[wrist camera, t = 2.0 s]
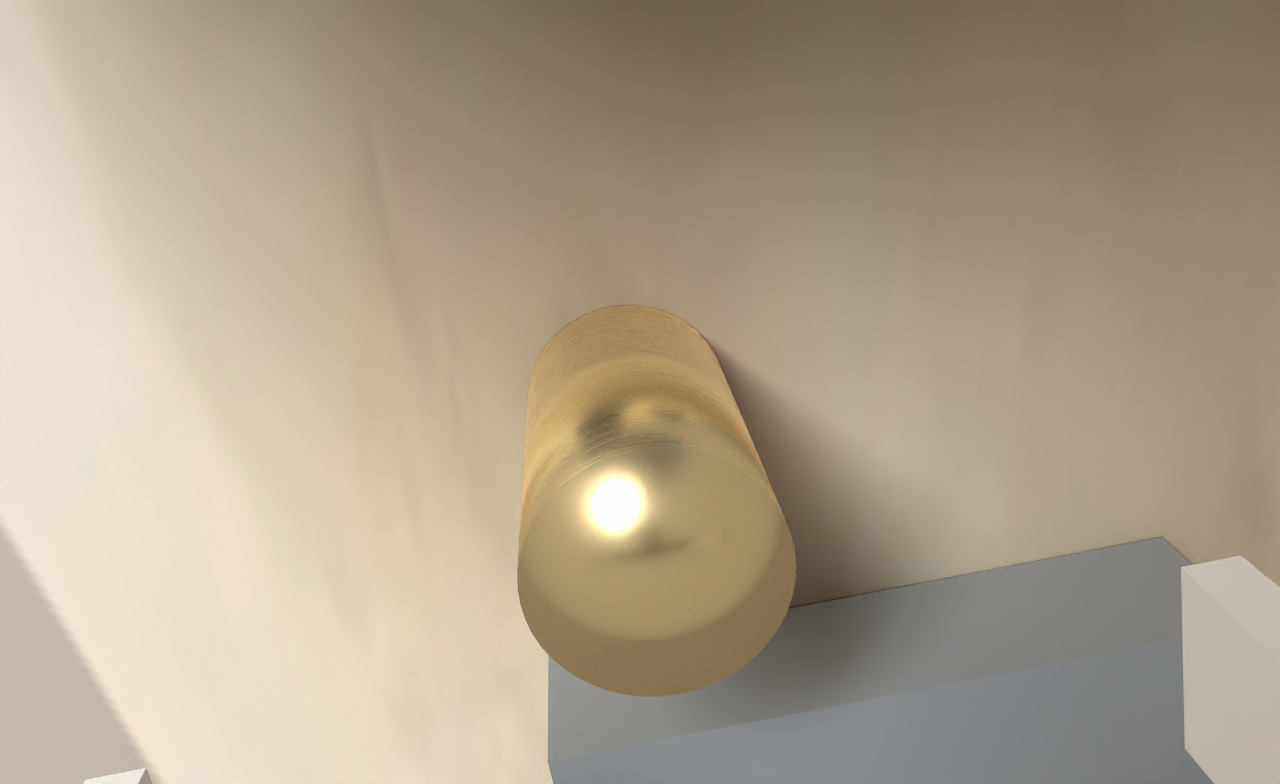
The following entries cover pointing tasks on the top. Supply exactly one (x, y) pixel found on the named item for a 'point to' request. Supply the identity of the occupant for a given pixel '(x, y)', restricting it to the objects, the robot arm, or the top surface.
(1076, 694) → the jig
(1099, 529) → the top surface
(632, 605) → the gold metal cylinder
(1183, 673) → the robot arm
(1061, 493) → the top surface
